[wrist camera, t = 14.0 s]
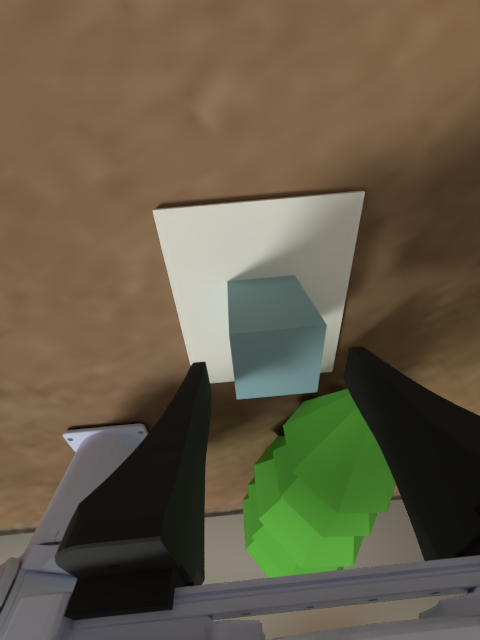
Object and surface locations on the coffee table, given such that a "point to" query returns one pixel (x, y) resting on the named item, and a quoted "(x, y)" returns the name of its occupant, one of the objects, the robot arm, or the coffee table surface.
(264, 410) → the coffee table surface
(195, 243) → the off-white tile
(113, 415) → the coffee table surface
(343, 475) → the decorative tree
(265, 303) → the teal block
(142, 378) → the coffee table surface
